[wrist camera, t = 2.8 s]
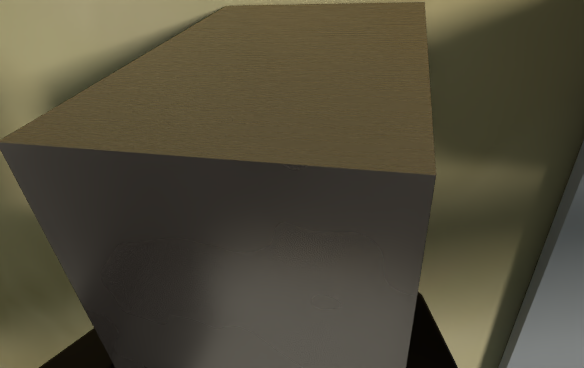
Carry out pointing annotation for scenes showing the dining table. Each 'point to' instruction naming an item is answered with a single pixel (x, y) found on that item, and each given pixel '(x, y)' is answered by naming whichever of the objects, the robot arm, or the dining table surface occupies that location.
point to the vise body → (555, 291)
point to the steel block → (247, 190)
